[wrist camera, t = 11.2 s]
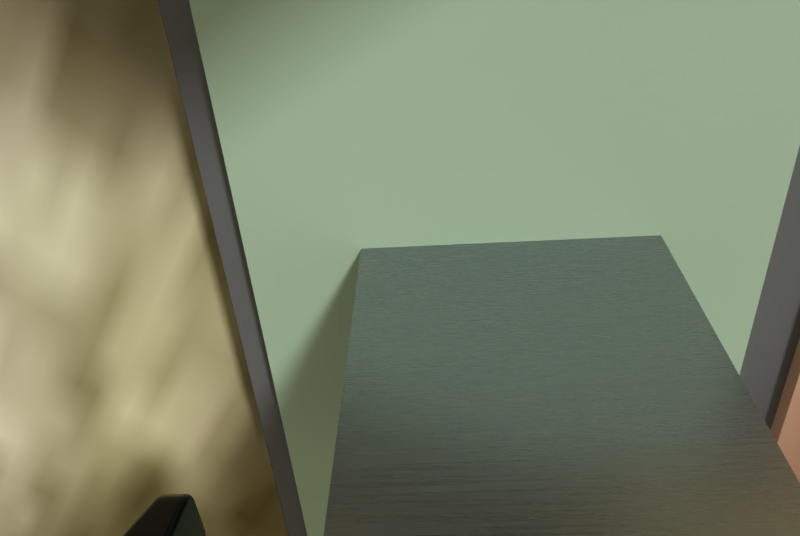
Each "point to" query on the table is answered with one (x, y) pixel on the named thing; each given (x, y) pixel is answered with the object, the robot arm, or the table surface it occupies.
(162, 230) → the table surface
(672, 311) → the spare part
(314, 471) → the sorting board
